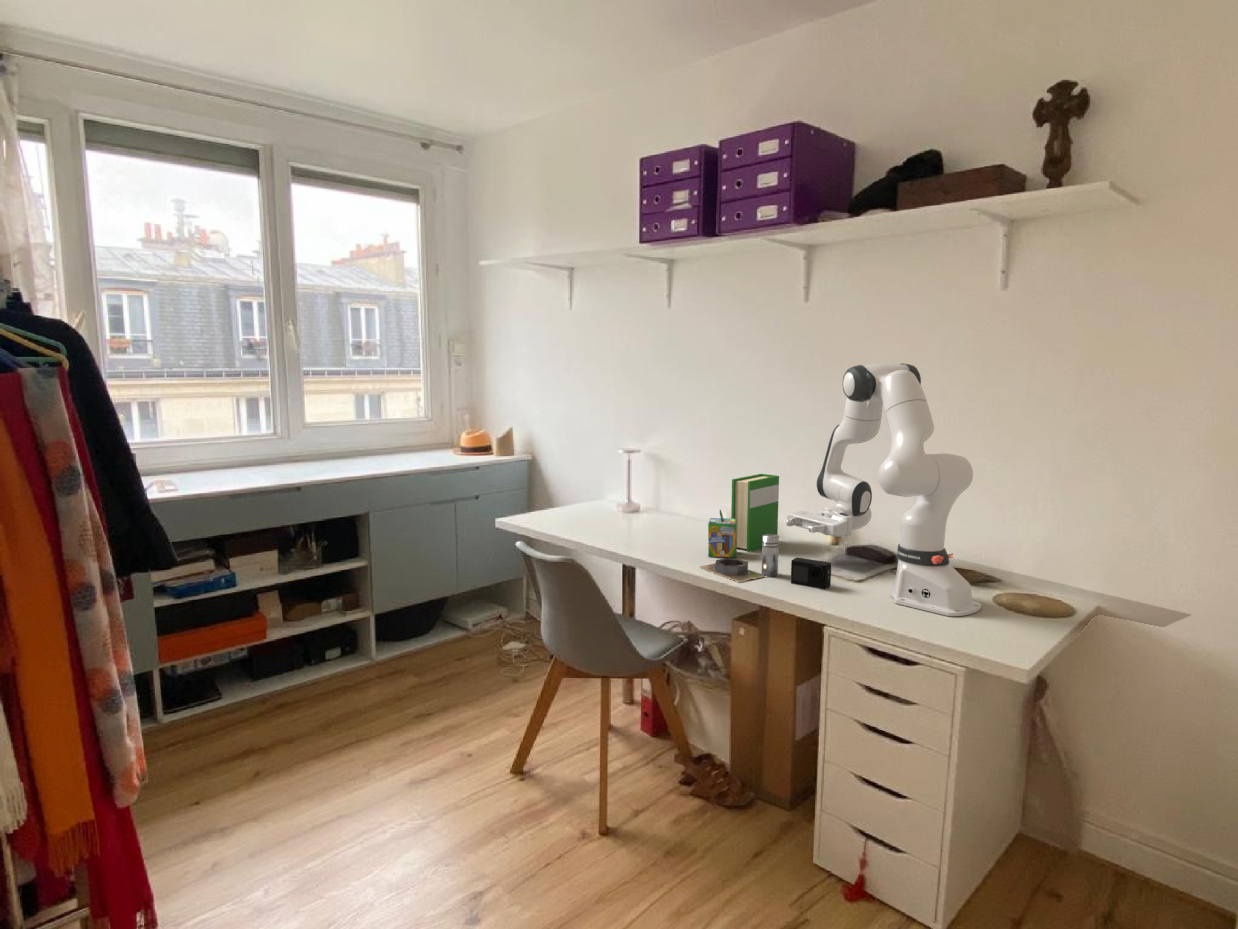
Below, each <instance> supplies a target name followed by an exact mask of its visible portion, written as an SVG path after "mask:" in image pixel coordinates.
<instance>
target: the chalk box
mask: <svg viewBox="0 0 1238 929" xmlns="http://www.w3.org/2000/svg"><path fill="white" fill-rule="evenodd" d="M707 531H708V535H707V536H708V543H707V544H708V553H707V557H708V558H731V559H737V549H738V547H737V519H731V518H727V517H724V516H723V513H722V510H721V509H719V518H718V517H716V518H715V517H710V519H709V521H708V526H707Z"/></svg>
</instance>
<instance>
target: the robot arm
mask: <svg viewBox="0 0 1238 929" xmlns="http://www.w3.org/2000/svg"><path fill="white" fill-rule="evenodd" d="M921 384H922V378H921V373H920V372H919V370H918V368H917V367H916V366H915V365H912V364H908V363H903V362H902V363H882V362H879V363H878V362H877V363H869V364H865V365H862V364H858V365H854V366H851V367H849V368H848V369H847V370H846V372H844V374H843V378H842V390H843V393H844V395H845V397H846V400H845V403H844V409H843V410H844V411H843V417H842V420H841V422H840V424H837V425H836V426H835V427H834V428H833V430H832V433H831V435H830V438H829V442H828V446H827V450H826V453H825V456H824V460H823V464H822V467H821V470H820V473H819V474H818V475H817V476H818V477H817V479H816V489H817V493H818V494H819V496H821V497H822V498H826V499H829V500H831V501H834V502H835V503H837V504H836V505H833V506H827V507H826V506H825V507H822V508H820V509H818V511H817V513H814V512H809V511H801V510H800V511H791V512H788V513H787V518H786V521H785V526H787V527H793V526H795V527H798V528H802V529H806V530H808V532H809V533H813V534H814V533H818V534H819V533H820V534H822V535H824V536H831V537H834V538H835V537H836V538H837V537H839V538H840V537H844V538H845V537H846V538H848V537H850V536H852V532H853V531H857V530H859V529H862V528H864V527H866V525H868V524H869V523H870V521H871V519H872V509H871V508H870V506H871V504H872V498H873V491H872V487H871V485H870V484H869V482H867V481H865V480H863V479H861V478H858V477H856V476H852V475H850V474H848V473H845V472H844V471H843V470H842V463H843V460H844V456H845V452H846V449H847V447H848V446H849V445H857V444H863V443H866V442H869V441H871V440H873V439H874V438H875V437H876V436H877V435H878V434H879V432H880V428H881V422H882V418H883V417H882V416H883V410H884V413H885V417H886V421H887V425H888V429H889V434H890V440H891V441H890V442H891V443H890V449H889V453H888V455H887V457H886V458H885V460H884V461H883V462H882V463H881V465H880V466H879V468H878V472H877V480H878V483H879V486H880V487H881V489H882V491H884V492H885V493H886V494H888V495H892V496H897V497H903V498H909V497H917V499H916V501H915V503H914V504H913V506H911V507H910V508H909V509H908V510H906V511H905V512H904V513H903V514H902V516H901V518H900V528H899V529H900V530H899V544H898V545H897V551H896V560H897V566H896V567H897V568H896V572H895V573H896V574H895V578H894V582H893V586H892V589H891V591H890V597H892V599H893V602H894V603H895V604H897V605H901V606H905V607H910V608H914V609H918V610H921V611H927V612H931V613H934V614H938V615H942V616H947V617H961V616H967V615H971V614H975V613H977V612H979V611H980V610H981V609H982V604H981V603H980V602H978V601H976V600H973V595H972V594H973V592H972V588H971V587H972V586H971V584H970V582H969V581H967V580H966V579H965V578H964V577H963V576H962V575H961V574H960V573H959V572H958V571H957V570H956V569H955V568H954V567H953V566H952V565H951V564H950V562H951V561H950V559H953V558H954V556H953V555H954V553H947V550H946V548H945V539H946V530H947V529H946V528H947V521H948V519H949V518H948V517H949V515H950V513H951V510H952V507H953V506H954V504H955V502H956V500H957V499H958V498H959V497H960V496H961V495H962V493H963V492H965V491H966V490H967V489H969V487H970V486H971V484H972V482H973V479H974V471H973V467H972V464H971V463H970V461H969V460H968V459H967V458H965V457H964V456H961V455H958V454H951V453H926V452H925V448H924V444H925V442H926V441H928V440H929V438H930V437H932V435H933V433H934V430H935V424H934V420H933V417H932V414H931V410H930V407H929V403H928V401H927V397H926V394H925V392H924V389H923V387H922V386H921Z"/></svg>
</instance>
